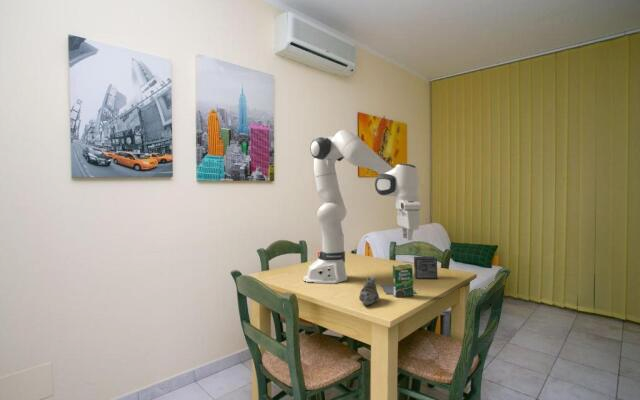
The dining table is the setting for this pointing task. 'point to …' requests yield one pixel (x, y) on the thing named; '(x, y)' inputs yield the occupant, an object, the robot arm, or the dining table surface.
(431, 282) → the dining table surface
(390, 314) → the dining table surface
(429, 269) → the small box
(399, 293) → the coffee box
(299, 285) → the dining table surface
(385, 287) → the mat
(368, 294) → the mineral rock
